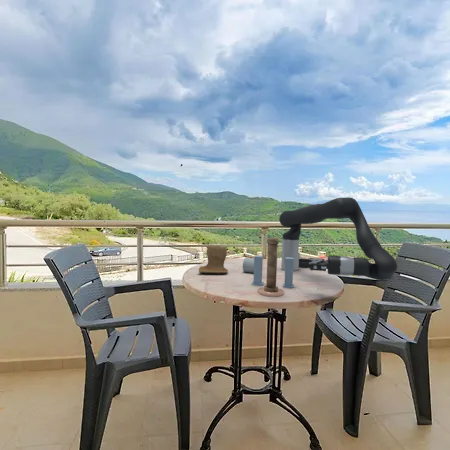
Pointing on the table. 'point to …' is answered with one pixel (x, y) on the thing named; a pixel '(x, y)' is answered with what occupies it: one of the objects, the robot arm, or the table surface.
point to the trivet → (270, 294)
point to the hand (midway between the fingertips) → (298, 262)
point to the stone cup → (215, 260)
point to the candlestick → (271, 265)
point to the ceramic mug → (248, 265)
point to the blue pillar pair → (288, 271)
